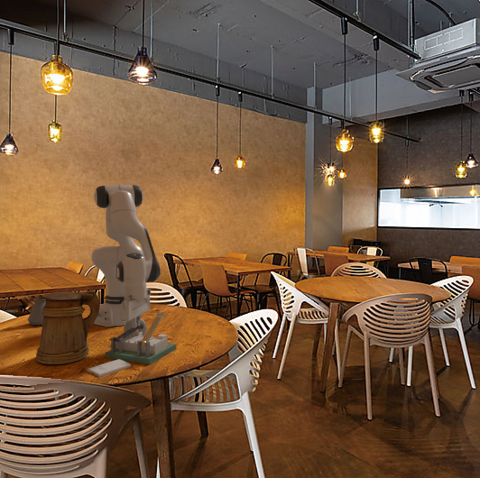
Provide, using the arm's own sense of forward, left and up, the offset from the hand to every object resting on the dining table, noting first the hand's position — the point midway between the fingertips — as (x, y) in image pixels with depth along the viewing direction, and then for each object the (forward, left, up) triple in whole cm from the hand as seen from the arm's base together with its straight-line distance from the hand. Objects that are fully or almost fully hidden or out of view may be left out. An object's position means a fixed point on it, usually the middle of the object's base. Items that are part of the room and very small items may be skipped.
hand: (135, 326), depth 167 cm
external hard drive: (+5, -22, -10) cm, 25 cm away
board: (+6, -4, -9) cm, 11 cm away
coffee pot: (-64, +18, -9) cm, 67 cm away
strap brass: (+12, -5, +1) cm, 13 cm away
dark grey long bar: (0, -4, -3) cm, 5 cm away
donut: (-7, +10, -9) cm, 15 cm away
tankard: (-18, -17, -9) cm, 27 cm away
